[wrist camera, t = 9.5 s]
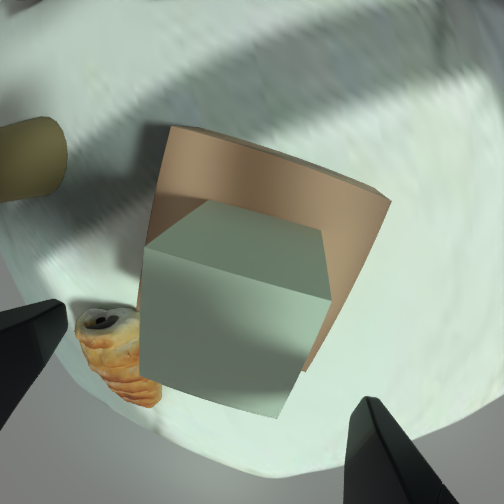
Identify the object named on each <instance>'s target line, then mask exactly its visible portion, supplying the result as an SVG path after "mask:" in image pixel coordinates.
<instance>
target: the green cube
mask: <svg viewBox="0 0 504 504" xmlns="http://www.w3.org/2000/svg"><path fill="white" fill-rule="evenodd" d="M331 302H332V298H331V291H330V284H329V277H328V270H327V264H326V257H325V251H324V245H323V239H322V233H321V230H318V229H315V228H312V227H308V226H305V225H301V224H298V223H294V222H291V221H287V220H284V219H280V218H276V217H273V216H269V215H266V214H262V213H258V212H255V211H251V210H247V209H243V208H240V207H236V206H232V205H228V204H224V203H221V202H217V201H213V200H208V201H206V202H205V203H203V204H202V205H201V206H199V207H198V208H196V209H195V210H194V211H192V212H191V213H189V214H188V215H187V216H185V217H184V218H182V219H181V220H180V221H178V222H177V223H175V224H174V225H173V226H171V227H170V228H169V229H167V230H166V231H165V232H163V233H162V234H161V235H159V236H158V237H157V238H155V239H154V240H153V241H151V242H150V243H149V244H147V245H146V246H145V247H144V253H143V266H142V280H141V298H140V325H139V376H142V377H144V378H147V379H149V380H152V381H154V382H157V383H160V384H162V385H165V386H168V387H170V388H173V389H176V390H179V391H181V392H184V393H187V394H190V395H193V396H196V397H199V398H202V399H205V400H209V401H212V402H215V403H218V404H222V405H225V406H229V407H232V408H236V409H239V410H243V411H247V412H251V413H254V414H258V415H263V416H267V417H271V418H275V419H277V418H278V416H279V414H280V412H281V410H282V408H283V406H284V404H285V402H286V400H287V398H288V396H289V394H290V392H291V390H292V388H293V386H294V384H295V382H296V380H297V378H298V376H299V374H300V372H301V370H302V368H303V366H304V364H305V361H306V359H307V357H308V355H309V353H310V351H311V348H312V346H313V344H314V342H315V340H316V337H317V335H318V333H319V330H320V328H321V326H322V324H323V321H324V319H325V317H326V314H327V312H328V309H329V307H330V305H331Z"/></svg>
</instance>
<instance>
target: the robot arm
mask: <svg viewBox="0 0 504 504" xmlns="http://www.w3.org/2000/svg"><path fill="white" fill-rule="evenodd" d="M67 329H68V319H67V312H66V306H65V304H64V303H63V302H61V301H59V300H57V299H50V300H46V301H42V302H38V303H34V304H30V305H26V306H22V307H18V308H14V309H10V310H6V311H2V312H0V431H1V429H2V428H3V426H4V425H5V423H6V422H7V420H8V418H9V417H10V415H11V414H12V412H13V411H14V409H15V408H16V407H17V405H18V404H19V402H20V401H21V399H22V398H23V396H24V395H25V394H26V392H27V391H28V389H29V388H30V386H31V385H32V384H33V382H34V381H35V379H36V378H37V377H38V375H39V374H40V373H41V371H42V370H43V368H44V367H45V366H46V364H47V362H48V361H49V359H50V357H51V356H52V354H53V352H54V351H55V349H56V348H57V346H58V344H59V343H60V341H61V339H62V338H63V336H64V335H65V333H66V331H67ZM343 499H344V500H343V504H459V503H458V502H457V501H456V499H455V498H454V496H453V495H452V494H451V493H450V491H449V490H448V489H447V487H446V486H445V485H444V484H442V481H441V479H440V478H439V477H438V475H437V474H436V473H435V471H434V470H433V469H432V468H431V466H430V465H429V464H428V462H427V461H426V460H425V458H424V457H423V456H422V454H421V453H420V452H419V450H418V449H417V448H416V446H415V445H414V444H413V442H412V441H411V440H410V439H409V437H408V436H407V435H406V433H405V432H404V431H403V429H402V428H401V427H400V425H399V424H398V423H397V421H396V420H395V419H394V418H393V416H392V415H391V414H390V412H389V411H388V410H387V408H386V407H385V406H384V405H383V403H382V402H381V401H380V399H378V398H376V397H370V396H365V397H363V398H362V400H361V401H360V403H359V404H358V405H357V407H356V408H355V410H354V411H353V413H352V414H351V417H350V421H349V430H348V440H347V448H346V456H345V465H344V498H343Z"/></svg>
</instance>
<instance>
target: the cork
mask: <svg viewBox="0 0 504 504" xmlns="http://www.w3.org/2000/svg"><path fill="white" fill-rule="evenodd" d="M67 156H68V154H67V144H66V140H65V137H64V134H63V130H62V129H61V127H60V126H59V125H58V123H57V122H56V121H55V120H53V119H51V118H50V117H37V118H33V119H29V120H25V121H21V122H18V123H14V124H10V125H7V126H4V127H0V203H3V202H8V201H14V200H20V199H26V198H33V197H39V196H45V195H50V194H51V193H52V192H54V191H55V190H56V189H57V188H58V186H59V185H60V183H61V182H62V180H63V177H64V174H65V171H66V166H67Z"/></svg>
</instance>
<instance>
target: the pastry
mask: <svg viewBox="0 0 504 504" xmlns="http://www.w3.org/2000/svg"><path fill="white" fill-rule="evenodd" d="M139 325H140V311H138V310H137V311H134V310H133V309H131V308H122V307H120V308H117V309H111V310H108V311H106V310H103V309H96V308H94V309H88V310H87V311H85V312H84V313H83V314H82V315H81V316H80V317H79V318H78V320H77V321H76V325H75V331H74V332H75V334H76V338H77V339H79V341H80V345H81V348H82V351H83V354H84V356H85V357H86V359H87V361H88V365H89V367H90V369H91V370H92V371H94V372H96V373H98V374H99V375H100V376H101V378H102V379H103V380H104V381H105V382H106V383H107V385H108V387H109V388H110V389H111V390H112V391H113V392H115V393H116V394H118V395H119V396H120V397H121V398H122V399H124V400H125V401H127V402H131V403H133V404H136V405H139V406H143V407H146V408H152V407H153V406H154V405H155V404H157V403H158V402H159V401H160V400H161V398H162V392H161V391H162V386H161V385H162V384H160V383H157V382H154V381H152V380H149V379H147V378H144V377H142V376H139Z"/></svg>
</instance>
